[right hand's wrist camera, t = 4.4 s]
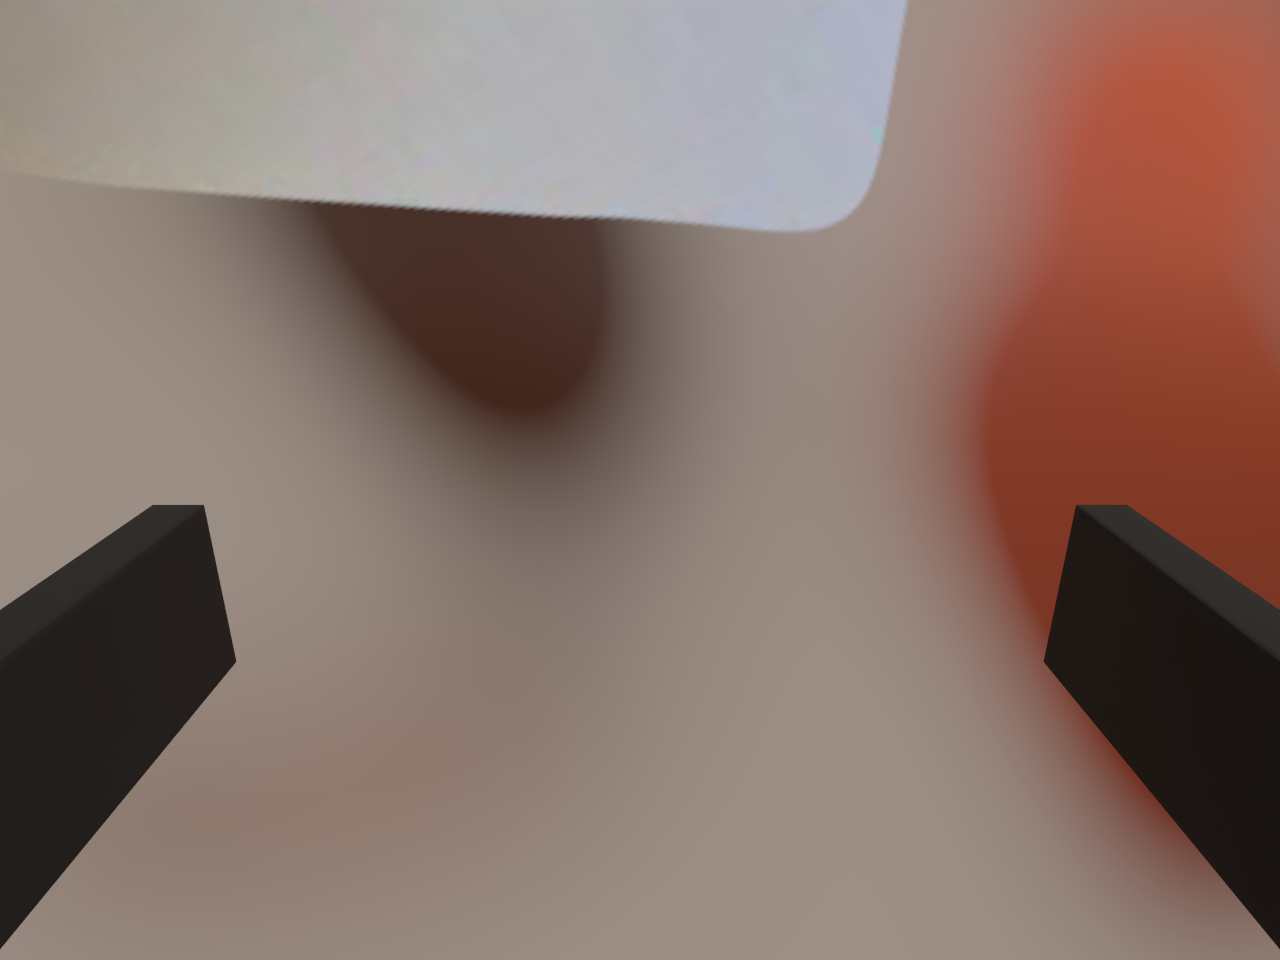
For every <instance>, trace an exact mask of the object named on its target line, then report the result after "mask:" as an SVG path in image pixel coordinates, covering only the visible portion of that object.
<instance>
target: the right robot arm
mask: <svg viewBox="0 0 1280 960" xmlns="http://www.w3.org/2000/svg"><path fill="white" fill-rule="evenodd" d="M235 663H236V658H235V653H234V648H233V644H232V639H231V634H230V629H229V624H228V619H227V614H226V610H225V605H224V600H223V595H222V590H221V585H220V581H219V576H218V571H217V566H216V561H215V557H214V552H213V547H212V542H211V537H210V532H209V528H208V523H207V518H206V513H205V508H204V505H152V506H151V507H149V508H148V509H146V510H145V511H144V512H142V513H141V514H139V515H138V516H136V517H135V518H133V519H132V520H130V521H129V522H128V523H126V524H125V525H123V526H122V527H120V528H119V529H117V530H116V531H114V532H113V533H112V534H110V535H109V536H107V537H106V538H104V539H103V540H101V541H100V542H98V543H97V544H96V545H94V546H93V547H91V548H90V549H88V550H87V551H85V552H84V553H82V554H81V555H80V556H78V557H77V558H75V559H74V560H72V561H71V562H69V563H68V564H67V565H65V566H64V567H62V568H61V569H59V570H58V571H56V572H55V573H53V574H52V575H51V576H49V577H48V578H46V579H45V580H43V581H42V582H40V583H39V584H37V585H36V586H34V587H33V588H32V589H30V590H29V591H27V592H26V593H24V594H23V595H21V596H20V597H18V598H17V599H16V600H14V601H13V602H11V603H10V604H8V605H7V606H5V607H4V608H2V609H1V610H0V949H1V947H2V946H3V945H4V944H5V943H6V941H7V940H8V939H9V938H10V936H11V935H12V934H13V933H14V932H15V930H16V929H17V928H18V927H19V926H20V924H21V923H22V922H23V921H24V920H25V918H26V917H27V916H28V915H29V913H30V912H31V911H32V910H33V909H34V907H35V906H36V905H37V904H38V902H39V901H40V900H41V899H42V898H43V896H44V895H45V894H46V893H47V891H48V890H49V889H50V888H51V887H52V885H53V884H54V883H55V882H56V881H57V879H58V878H59V877H60V876H61V874H62V873H63V872H64V871H65V870H66V868H67V867H68V866H69V865H70V863H71V862H72V861H73V860H74V859H75V857H76V856H77V855H78V854H79V853H80V851H81V850H82V849H83V848H84V846H85V845H86V844H87V843H88V842H89V840H90V839H91V838H92V837H93V835H94V834H95V833H96V832H97V831H98V829H99V828H100V827H101V826H102V825H103V823H104V822H105V821H106V820H107V818H108V817H109V816H110V815H111V814H112V812H113V811H114V810H115V809H116V807H117V806H118V805H119V804H120V803H121V801H122V800H123V799H124V798H125V796H126V795H127V794H128V793H129V792H130V790H131V789H132V788H133V787H134V786H135V784H136V783H137V782H138V781H139V779H140V778H141V777H142V776H143V775H144V773H145V772H146V771H147V770H148V769H149V767H150V766H151V765H152V764H153V762H154V761H155V760H156V759H157V758H158V756H159V755H160V754H161V753H162V751H163V750H164V749H165V748H166V747H167V745H168V744H169V743H170V742H171V741H172V739H173V738H174V737H175V736H176V734H177V733H178V732H179V731H180V730H181V728H182V727H183V726H184V725H185V723H186V722H187V721H188V720H189V719H190V717H191V716H192V715H193V714H194V713H195V711H196V710H197V709H198V708H199V706H200V705H201V704H202V703H203V702H204V700H205V699H206V698H207V697H208V695H209V694H210V693H211V692H212V691H213V689H214V688H215V687H216V686H217V685H218V683H219V682H220V681H221V680H222V678H223V677H224V676H225V675H226V674H227V672H228V671H229V670H230V669H231V667H232V666H233V665H234V664H235ZM1044 663H1045V664H1046V665H1047V666H1048V667H1049V669H1050V670H1051V671H1052V672H1053V674H1054V675H1055V676H1056V677H1057V678H1058V680H1059V681H1060V682H1061V683H1062V685H1063V686H1064V687H1065V688H1066V689H1067V691H1068V692H1069V693H1070V694H1071V695H1072V697H1073V698H1074V699H1075V700H1076V702H1077V703H1078V704H1079V705H1080V706H1081V708H1082V709H1083V710H1084V711H1085V713H1086V714H1087V715H1088V716H1089V717H1090V719H1091V720H1092V721H1093V722H1094V723H1095V725H1096V726H1097V727H1098V728H1099V730H1100V731H1101V732H1102V733H1103V734H1104V736H1105V737H1106V738H1107V739H1108V741H1109V742H1110V743H1111V744H1112V745H1113V747H1114V748H1115V749H1116V750H1117V751H1118V753H1119V754H1120V755H1121V756H1122V758H1123V759H1124V760H1125V761H1126V762H1127V764H1128V765H1129V766H1130V767H1131V769H1132V770H1133V771H1134V772H1135V773H1136V775H1137V776H1138V777H1139V778H1140V779H1141V781H1142V782H1143V783H1144V784H1145V786H1146V787H1147V788H1148V789H1149V790H1150V792H1151V793H1152V794H1153V795H1154V797H1155V798H1156V799H1157V800H1158V801H1159V803H1160V804H1161V805H1162V806H1163V808H1164V809H1165V810H1166V811H1167V812H1168V814H1169V815H1170V816H1171V817H1172V818H1173V820H1174V821H1175V822H1176V823H1177V825H1178V826H1179V827H1180V828H1181V829H1182V831H1183V832H1184V833H1185V834H1186V836H1187V837H1188V838H1189V839H1190V840H1191V842H1192V843H1193V844H1194V845H1195V846H1196V848H1197V849H1198V850H1199V851H1200V853H1201V854H1202V855H1203V856H1204V857H1205V859H1206V860H1207V861H1208V862H1209V863H1210V865H1211V866H1212V867H1213V868H1214V869H1215V871H1216V872H1217V873H1218V874H1219V876H1220V877H1221V878H1222V879H1223V881H1224V882H1225V883H1226V884H1227V885H1228V887H1229V888H1230V889H1231V890H1232V891H1233V893H1234V894H1235V895H1236V896H1237V898H1238V899H1239V900H1240V901H1241V902H1242V904H1243V905H1244V906H1245V907H1246V909H1247V910H1248V911H1249V912H1250V913H1251V914H1252V916H1253V917H1254V918H1255V919H1256V921H1257V922H1258V923H1259V924H1260V926H1261V927H1262V928H1263V929H1264V930H1265V932H1266V933H1267V934H1268V935H1269V936H1270V938H1271V939H1272V940H1273V941H1274V943H1275V944H1276V945H1277V946H1278V948H1279V949H1280V610H1279V609H1278V608H1276V607H1275V606H1273V605H1272V604H1270V603H1269V602H1267V601H1266V600H1264V599H1263V598H1262V597H1260V596H1259V595H1257V594H1256V593H1254V592H1253V591H1251V590H1250V589H1248V588H1247V587H1246V586H1244V585H1243V584H1241V583H1240V582H1238V581H1237V580H1235V579H1234V578H1232V577H1231V576H1230V575H1228V574H1227V573H1225V572H1224V571H1222V570H1221V569H1219V568H1218V567H1216V566H1215V565H1213V564H1212V563H1211V562H1209V561H1208V560H1206V559H1205V558H1203V557H1202V556H1200V555H1199V554H1198V553H1196V552H1195V551H1193V550H1192V549H1190V548H1189V547H1187V546H1186V545H1184V544H1183V543H1182V542H1180V541H1179V540H1177V539H1176V538H1174V537H1173V536H1171V535H1170V534H1168V533H1167V532H1165V531H1164V530H1163V529H1161V528H1160V527H1158V526H1157V525H1155V524H1154V523H1152V522H1151V521H1149V520H1148V519H1147V518H1145V517H1144V516H1142V515H1141V514H1139V513H1138V512H1136V511H1135V510H1134V509H1132V508H1131V507H1129V506H1128V505H1076V508H1075V513H1074V518H1073V523H1072V528H1071V533H1070V537H1069V542H1068V547H1067V552H1066V557H1065V561H1064V566H1063V571H1062V576H1061V581H1060V586H1059V590H1058V595H1057V600H1056V605H1055V610H1054V614H1053V619H1052V624H1051V629H1050V634H1049V639H1048V643H1047V648H1046V653H1045V658H1044Z"/></svg>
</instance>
